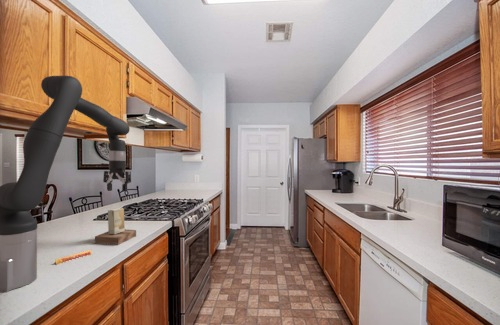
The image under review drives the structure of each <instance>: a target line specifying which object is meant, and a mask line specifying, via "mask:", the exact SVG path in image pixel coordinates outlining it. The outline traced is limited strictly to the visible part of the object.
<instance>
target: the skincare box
mask: <svg viewBox="0 0 500 325" xmlns="http://www.w3.org/2000/svg"><path fill="white" fill-rule="evenodd" d="M107 227H108V230H107V232H108V233H109V234H117V233H120V232H123V231H125V229H126V228H125V208H123V207H119V208H112V209H109V210H107Z"/></svg>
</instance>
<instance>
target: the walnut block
mask: <svg viewBox="0 0 500 325" xmlns="http://www.w3.org/2000/svg"><path fill="white" fill-rule="evenodd" d="M136 237H137V230H136V229H126V228H125V231H123V232H120V233H117V234H109V233H108V231H106V232H103V233H101V234H98V235H96V236H94V244H99V245H110V246H111V245H112V246H114V245H115V246H119V245H121V244H124V243H126V242H127V241H129V240H132V239H133V238H136Z"/></svg>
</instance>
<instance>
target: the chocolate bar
mask: <svg viewBox="0 0 500 325" xmlns="http://www.w3.org/2000/svg"><path fill="white" fill-rule="evenodd" d="M91 254H92V255H93V252H92V249H89V250H85V251H81V252H78V253H74V254H71V255H67V256H64V257H60V258H56V259H55V261H54V264H55V265H61V264H63V262H64V263H67V262H66V261H68V262H70V261H69V260H71V261H73V260H72V259H75V260H77V259H76V258H78V259H80V258H79V257H82V258H84V257H83V256H85V257H88V256H91ZM87 255H88V256H87ZM60 263H61V264H60Z"/></svg>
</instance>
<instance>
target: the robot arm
mask: <svg viewBox="0 0 500 325" xmlns="http://www.w3.org/2000/svg"><path fill="white" fill-rule="evenodd" d="M41 89H42V91H43V93H44V94H45V95H46V96H47V97H48V98H49V99H51V100H52V102H51V104H50V106H49V107H48V108H47V109H46V110H45V111H44V112H42V114H40V115H39V116H38V117H37V118H36V119H35V120H34V121H33V122H32V123H31V124H30V126H29V128H28V130H27V133H26V135H25V137H24V140H23V144H22V152H23V161H24V162H23V167H22V170H21V173H20V175H19V178H18V179H17V181H16V182H13V181H11V182H6V183H5V184H2V185H0V291H2V292H9V291H11V290H14V289H19V288H21V287H22V288H23V287H24V286H27V285H30V284H31V283H33V282H35V281H36V280H37V278H38V220H37V219H36V218H35V217H34V216H33V215H32V213H31V211H32V210H34V209H35V208H37V207H38V206H39V205H40V204H41V202H43V201H42V200H43V199H44V196H45V192H46V188H47V183H48V179H49V175H50V171H51V170H52V169H51V168H52V165H53V164H54V160H55V158H56V155H57V152H58V150H59V148H60V146H61V143H62V140H63V137H64V134H65V131H66V128H67V126H68V124H69V121H70V119H71V116H72V114H73V113H74V111H77V112H79V113H81V114H82V115H84V116H85V117H87V118H89V119H91V120H92V121H94V122H95V123H97V124H98V125H99V126H101V127H104V128H105V129H106V135H107V139H108V141H109V153H108V169H109V170H104V171H103V182H102V183H106V190H107V192H108V191H109V192H111V191H113V182H114V181H115V180H119V181H120V182H121V183H122V186H121V188H122V190H121V191H122V192H127V190H128V184H129V183H132V172H131V171H130V170H126V168H127V166H126V165H127V164H126V163H127V159H126V158H127V156H126V155H127V154H126V142H125V140H123V139H120V137H119V136H125V135H128V134H129V133H130V126H129V124H128V123H127V122H126V121H124V120H123V119H121V118H119V117H117V116H115V115H112V114H111V113H110V112H109V111H107V110H106V109H105V108H103V107H102V106H100V105H99V104H98V105H97V104H96V103H93V102H91V101H89V100H87V99H84V98H82V95H83V85H82V84H81V82H80V80H79V79H78V78H76V77H75V76H72V75H71V76H70V75H49V76H45V77H44V78H43V79H42V80H41Z"/></svg>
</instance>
